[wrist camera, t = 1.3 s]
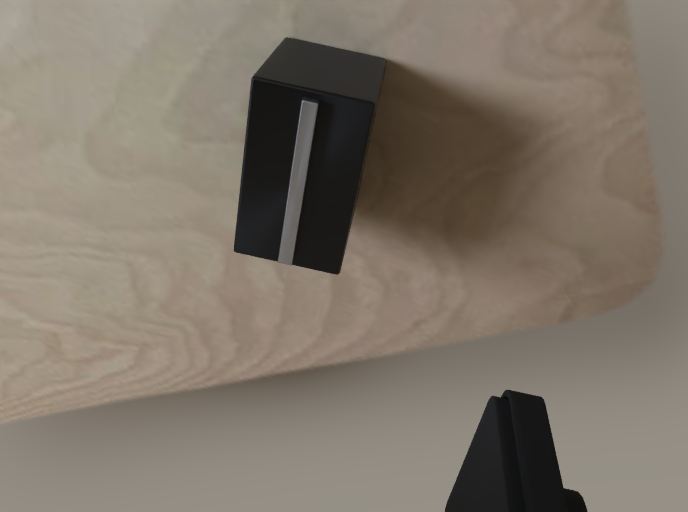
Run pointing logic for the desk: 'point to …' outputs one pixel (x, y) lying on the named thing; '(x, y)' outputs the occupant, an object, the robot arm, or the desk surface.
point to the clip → (306, 153)
